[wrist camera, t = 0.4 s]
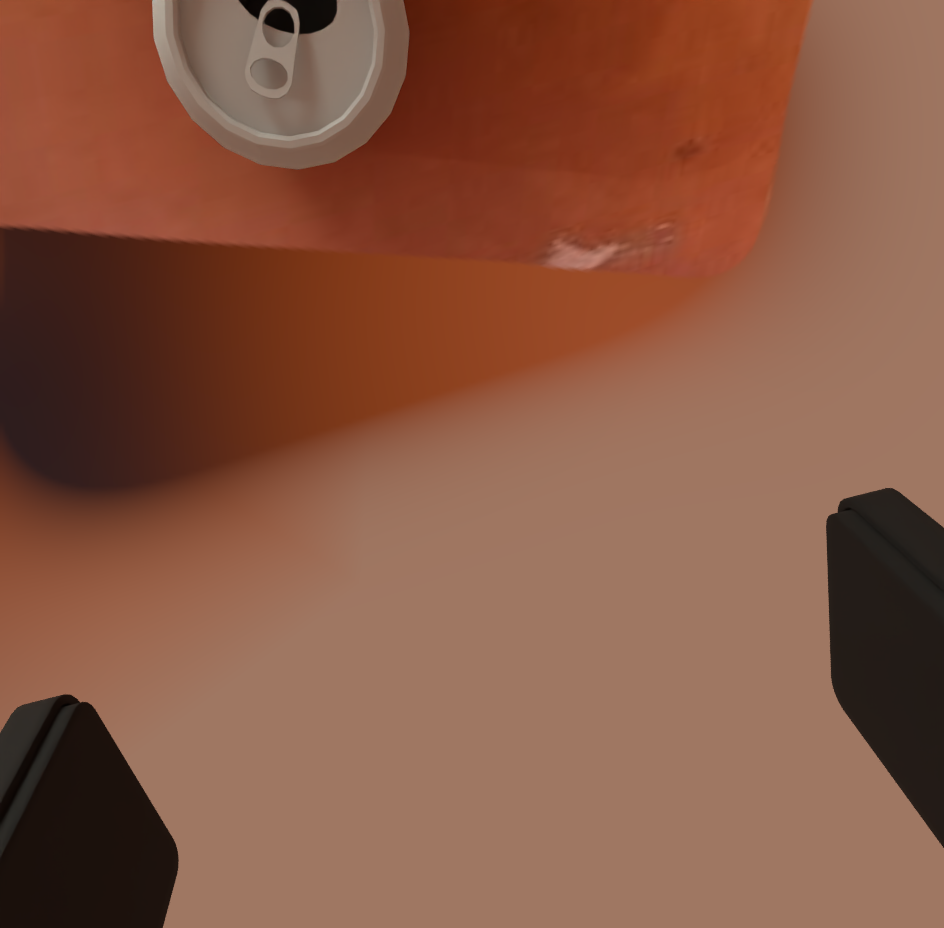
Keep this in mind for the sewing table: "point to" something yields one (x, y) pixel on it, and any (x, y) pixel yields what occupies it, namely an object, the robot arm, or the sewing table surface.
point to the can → (285, 72)
